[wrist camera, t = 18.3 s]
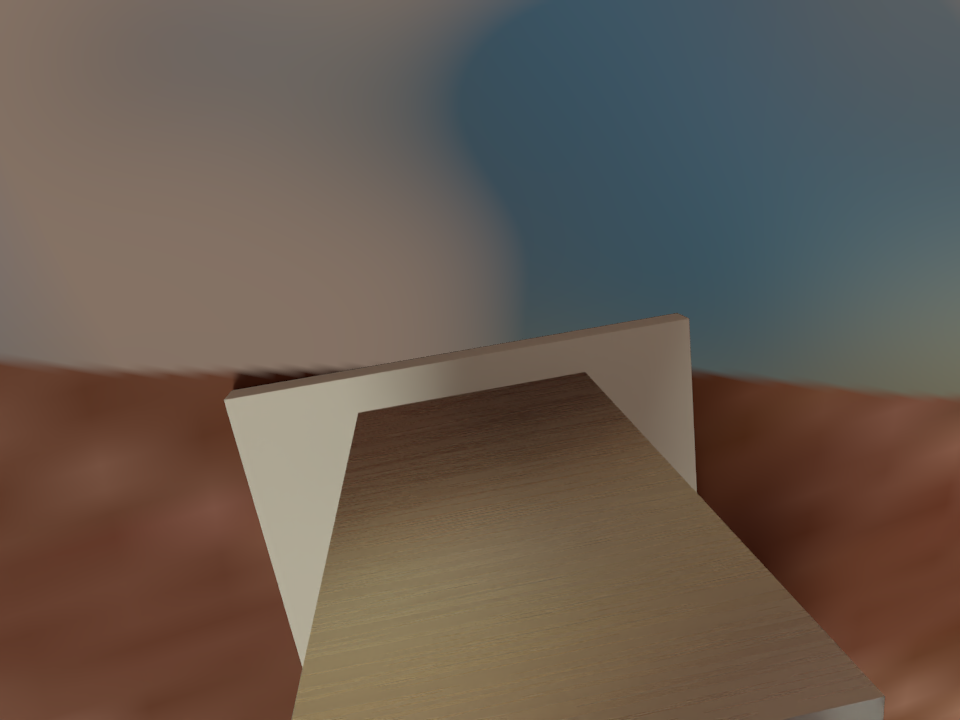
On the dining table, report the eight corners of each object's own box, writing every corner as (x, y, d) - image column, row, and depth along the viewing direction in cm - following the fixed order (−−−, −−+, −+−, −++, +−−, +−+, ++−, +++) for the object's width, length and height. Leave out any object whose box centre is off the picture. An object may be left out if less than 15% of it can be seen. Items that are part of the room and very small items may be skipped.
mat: (315, 681, 15) (312, 701, 15) (232, 390, 13) (224, 400, 12) (692, 603, 16) (702, 619, 15) (677, 312, 14) (688, 318, 13)
